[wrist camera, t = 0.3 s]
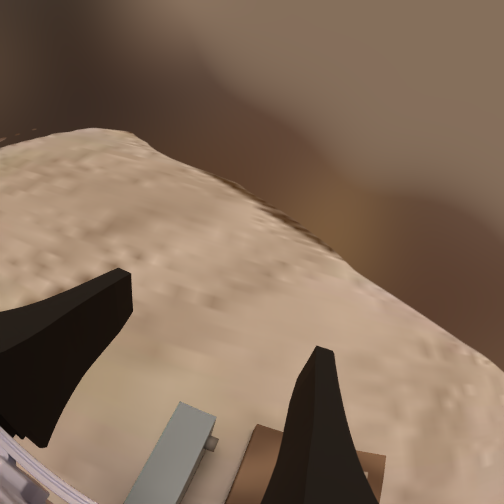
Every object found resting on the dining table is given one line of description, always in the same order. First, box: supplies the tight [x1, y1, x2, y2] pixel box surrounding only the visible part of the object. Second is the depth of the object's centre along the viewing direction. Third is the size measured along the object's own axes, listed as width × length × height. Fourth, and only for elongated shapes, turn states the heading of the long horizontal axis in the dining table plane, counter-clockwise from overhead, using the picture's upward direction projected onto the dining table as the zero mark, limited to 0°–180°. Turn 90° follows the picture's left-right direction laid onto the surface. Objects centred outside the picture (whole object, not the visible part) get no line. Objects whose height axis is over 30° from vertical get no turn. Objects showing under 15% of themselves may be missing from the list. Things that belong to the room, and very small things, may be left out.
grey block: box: [123, 401, 219, 504], centre depth 18 cm, size 12×4×7 cm, turn 162°
